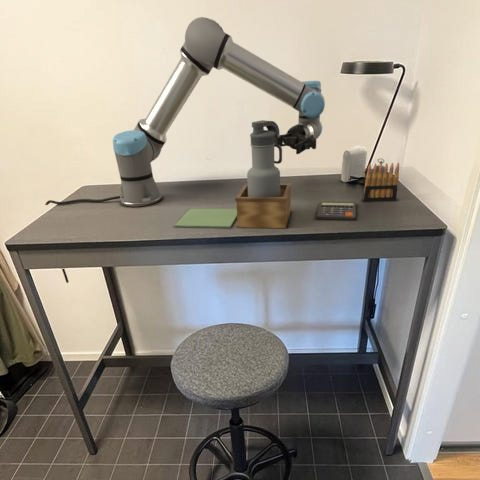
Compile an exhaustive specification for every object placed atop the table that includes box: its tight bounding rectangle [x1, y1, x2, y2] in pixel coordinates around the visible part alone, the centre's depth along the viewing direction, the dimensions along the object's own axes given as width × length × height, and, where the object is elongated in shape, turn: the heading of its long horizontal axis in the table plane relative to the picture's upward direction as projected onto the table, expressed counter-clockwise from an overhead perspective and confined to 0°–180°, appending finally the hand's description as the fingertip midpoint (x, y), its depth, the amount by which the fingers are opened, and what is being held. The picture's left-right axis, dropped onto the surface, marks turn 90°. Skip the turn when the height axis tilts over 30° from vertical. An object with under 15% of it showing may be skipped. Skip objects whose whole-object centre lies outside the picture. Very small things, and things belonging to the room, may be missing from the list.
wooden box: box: [234, 183, 292, 229], centre depth 122 cm, size 15×15×9 cm
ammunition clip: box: [362, 162, 400, 202], centre depth 131 cm, size 11×2×12 cm, turn 84°
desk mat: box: [174, 208, 237, 229], centre depth 129 cm, size 18×16×1 cm
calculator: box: [315, 200, 357, 221], centre depth 127 cm, size 12×1×15 cm
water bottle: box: [246, 119, 283, 197], centre depth 117 cm, size 10×10×28 cm
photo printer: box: [340, 145, 368, 183], centre depth 153 cm, size 10×4×12 cm, turn 123°
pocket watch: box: [371, 158, 389, 182], centre depth 145 cm, size 8×8×10 cm
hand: (276, 148), depth 121 cm, fingers open, 13 cm apart
